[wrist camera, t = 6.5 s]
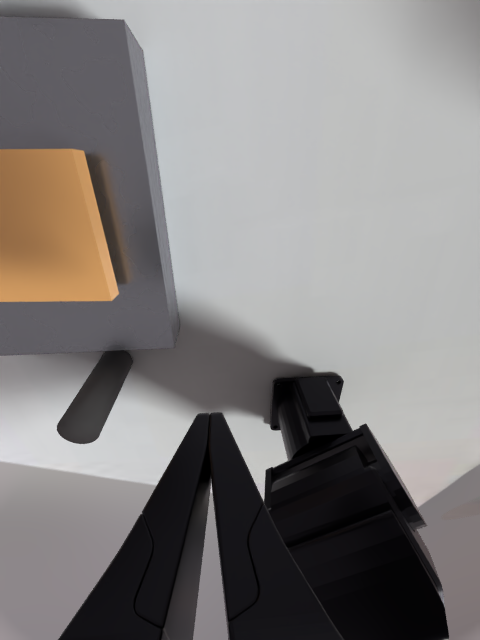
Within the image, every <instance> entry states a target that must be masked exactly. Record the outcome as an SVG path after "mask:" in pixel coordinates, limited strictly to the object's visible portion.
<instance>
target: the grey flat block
mask: <svg viewBox="0 0 480 640" xmlns="http://www.w3.org/2000/svg"><path fill="white" fill-rule="evenodd" d="M0 149H76V150H82V151H84V153H85V157H86V161H87V165H88V169H89V173H90V178H91V182H92V186H93V190H94V194H95V198H96V202H97V206H98V210H99V214H100V218H101V222H102V226H103V230H104V235H105V239H106V243H107V247H108V251H109V255H110V259H111V263H112V267H113V271H114V275H115V279H116V283H117V287H118V291H119V294H118V295H117V296H116V297H115V298H114V299H113V300H112V301H48V302H0V356H2V355H25V354H48V353H71V352H94V351H117V350H140V349H163V348H174V347H175V343H176V340H177V336H178V332H179V328H180V323H179V315H178V308H177V300H176V293H175V286H174V278H173V271H172V263H171V256H170V248H169V241H168V233H167V226H166V218H165V211H164V204H163V196H162V189H161V181H160V174H159V166H158V159H157V151H156V144H155V136H154V129H153V121H152V114H151V107H150V99H149V92H148V84H147V77H146V69H145V62H144V54H143V50H142V48H141V47H140V45H139V43H138V42H137V40H136V39H135V37H134V35H133V34H132V32H131V30H130V29H129V27H128V25H127V24H126V22H125V21H124V20H117V19H78V18H39V17H0Z"/></svg>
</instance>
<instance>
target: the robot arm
mask: <svg viewBox="0 0 480 640" xmlns="http://www.w3.org/2000/svg"><path fill="white" fill-rule="evenodd" d="M336 381H338V382H336ZM343 383H344V381H343V379H342V377H341V376H319V377H300V378H280V379H276V380H274V381H273V387H272V402H271V416H270V427H271V429H272V430H281V433H282V437H283V441H284V445H285V450H286V454H287V458H288V461H287V462H285V463H283V464H280V465H278V466H276V467H274V468H273V467H271V468H269V469H267V470H266V477H265V498H264V502H263V499H262V497H261V495H260V493H259V491H258V489H257V486H256V484H255V482H254V480H253V478H252V476H251V474H250V471H249V469H248V467H247V465H246V463H245V461H244V459H243V456H242V454H241V452H240V450H239V448H238V446H237V444H236V441H235V439H234V437H233V435H232V433H231V431H230V428H229V426H228V424H227V422H226V420H225V418H224V416H223V414H222V413H221V412H217V413H211V414H209V413H200V414H198V415H197V416H196V418H195V419H194V421H193V423H192V425H191V426H190V428H189V430H188V432H187V433H186V435H185V437H184V439H183V441H182V442H181V444H180V446H179V448H178V449H177V451H176V453H175V455H174V456H173V458H172V460H171V462H170V463H169V465H168V467H167V469H166V470H165V472H164V474H163V476H162V477H161V479H160V481H159V483H158V484H157V486H156V488H155V490H154V491H153V493H152V495H151V497H150V499H149V500H148V502H147V504H146V506H145V507H144V509H143V511H142V514H141V515H140V516H139V518H138V519H137V521H136V523H135V525H134V526H133V528H132V530H131V531H130V533H129V535H128V536H127V538H126V540H125V541H124V543H123V545H122V546H121V548H120V550H119V551H118V553H117V554H116V556H115V558H114V559H113V560H112V562H111V564H110V565H109V567H108V568H107V569H106V571H105V572H104V574H103V575H102V577H101V578H100V580H99V582H98V583H97V584H96V586H95V587H94V588H93V590H92V591H91V593H90V594H89V596H88V597H87V599H86V600H85V601H84V603H83V604H82V606H81V607H80V609H79V610H78V612H77V613H76V615H75V616H74V618H73V619H72V621H71V622H70V623H69V625H68V626H67V628H66V629H65V630H64V632H63V633H62V635H61V636H60V638H59V639H58V640H193V633H194V625H195V624H194V623H195V616H196V608H197V599H198V591H199V582H200V574H201V565H202V556H203V548H204V539H205V530H206V522H207V514H208V505H209V496H210V487H211V482H212V492H213V501H214V510H215V519H216V528H217V538H218V547H219V557H220V566H221V575H222V584H223V593H224V603H225V612H226V622H227V630H228V640H448V639H449V633H448V626H447V620H446V614H445V605H444V596H443V589H442V585H441V582H440V579H439V577H438V574H437V571H436V569H435V566H434V563H433V561H432V558H431V555H430V553H429V551H428V549H427V547H426V545H425V543H424V542H423V540H422V538H421V536H420V535H419V533H418V531H417V529H420V528H422V527H425V526H427V525H426V523H425V521H424V519H423V517H422V515H421V514H420V512H419V510H418V508H417V506H416V505H415V503H414V501H413V499H412V497H411V495H410V494H409V492H408V490H407V488H406V486H405V485H404V483H403V481H402V480H401V478H400V476H399V475H398V473H397V471H396V470H395V468H394V466H393V465H392V463H391V461H390V460H389V458H388V456H387V455H386V453H385V452H384V450H383V449H382V447H381V446H380V444H379V443H378V441H377V439H376V438H375V436H374V435H373V433H372V432H371V430H370V429H369V427H368V426H367V424H364V425H362V426H359V427H360V428H358V429H356V430H354V431H353V430H352V428H351V426H350V424H349V423H348V421H347V419H346V417H345V415H344V413H343V410H342V408H341V406H340V404H339V399H340V395H341V391H342V387H343ZM277 384H279V385H277Z"/></svg>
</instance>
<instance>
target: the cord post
mask: <svg viewBox="0 0 480 640" xmlns="http://www.w3.org/2000/svg"><path fill="white" fill-rule="evenodd" d="M132 363H133V360H132V357H131V355H130V354H129V353H128V352H126V351H125V350H117V351H106V352H105V353H104V354H103V356H102V357H101V359H100V360H99V362H98V363H97V365H96V366H95V368H94V369H93V371H92V372H91V374H90V375H89V377H88V379H87V380H86V382H85V383H84V385H83V386H82V388H81V389H80V391H79V392H78V394H77V395H76V397H75V398H74V400H73V401H72V403H71V405H70V406H69V408H68V409H67V411H66V412H65V414H64V415H63V417H62V418H61V420H60V421H59V423H58V425H57V431H58V433H59V434H60V436H62V437H63V438H64V439H66V440H68V441H70V442H73V443H78V444H87V443H91V442H93V441H95V440H96V439H97V438H98V437H99V435H100V433H101V431H102V428H103V426H104V424H105V422H106V420H107V418H108V415H109V413H110V411H111V409H112V407H113V405H114V403H115V400H116V398H117V396H118V394H119V392H120V390H121V388H122V385H123V383H124V381H125V379H126V377H127V375H128V372H129V370H130V368H131V366H132Z"/></svg>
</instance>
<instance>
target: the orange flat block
mask: <svg viewBox="0 0 480 640" xmlns="http://www.w3.org/2000/svg"><path fill="white" fill-rule="evenodd" d="M118 294H119V291H118V287H117V283H116V279H115V275H114V271H113V267H112V263H111V259H110V255H109V251H108V247H107V243H106V239H105V235H104V230H103V226H102V222H101V218H100V214H99V210H98V206H97V202H96V198H95V194H94V190H93V186H92V182H91V178H90V173H89V169H88V165H87V161H86V157H85V153H84V151H82V150H76V149H0V302H48V301H112V300H113V299H114V298H115V297H116V296H117V295H118Z"/></svg>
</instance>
